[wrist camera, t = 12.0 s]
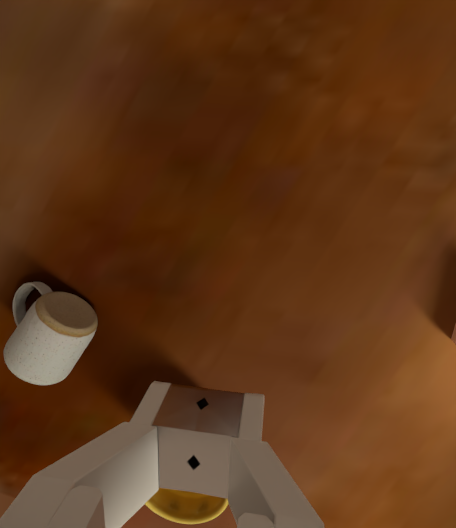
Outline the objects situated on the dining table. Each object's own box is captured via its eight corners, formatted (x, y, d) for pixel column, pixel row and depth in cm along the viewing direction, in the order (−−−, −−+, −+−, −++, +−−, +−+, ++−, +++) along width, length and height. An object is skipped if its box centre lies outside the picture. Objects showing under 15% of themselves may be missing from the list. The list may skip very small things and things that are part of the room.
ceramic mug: (113, 313, 43) (78, 347, 36) (83, 360, 46) (45, 399, 39) (38, 261, 43) (-13, 285, 36) (12, 311, 46) (-40, 342, 38)
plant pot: (169, 375, 45) (140, 434, 36) (250, 399, 45) (242, 466, 35) (155, 438, 49) (125, 507, 39) (230, 461, 48) (218, 537, 39)
